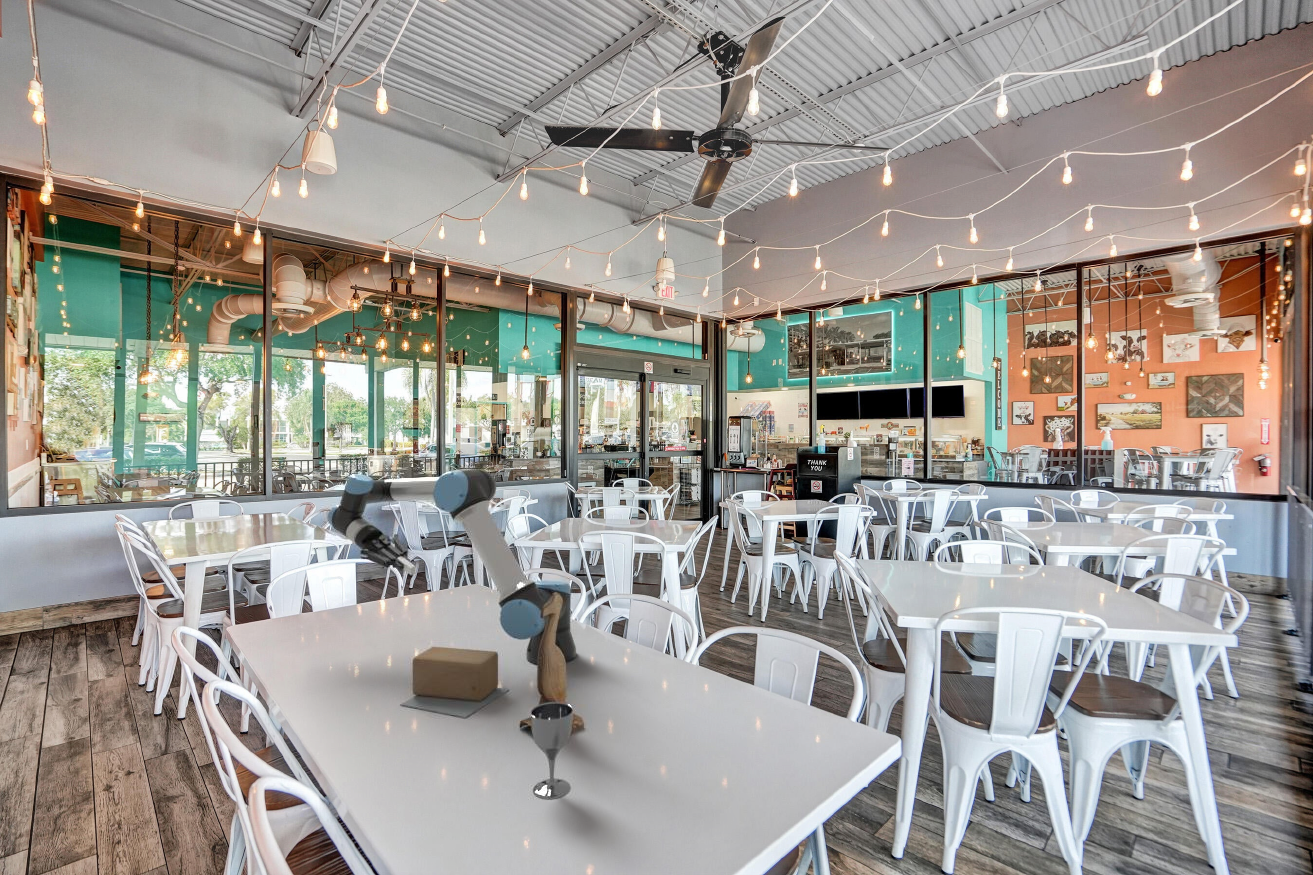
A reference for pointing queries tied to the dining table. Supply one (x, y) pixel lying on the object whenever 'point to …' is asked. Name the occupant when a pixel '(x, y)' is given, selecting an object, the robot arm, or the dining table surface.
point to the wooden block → (455, 673)
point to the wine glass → (551, 743)
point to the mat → (452, 703)
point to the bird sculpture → (552, 663)
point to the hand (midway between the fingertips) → (413, 570)
